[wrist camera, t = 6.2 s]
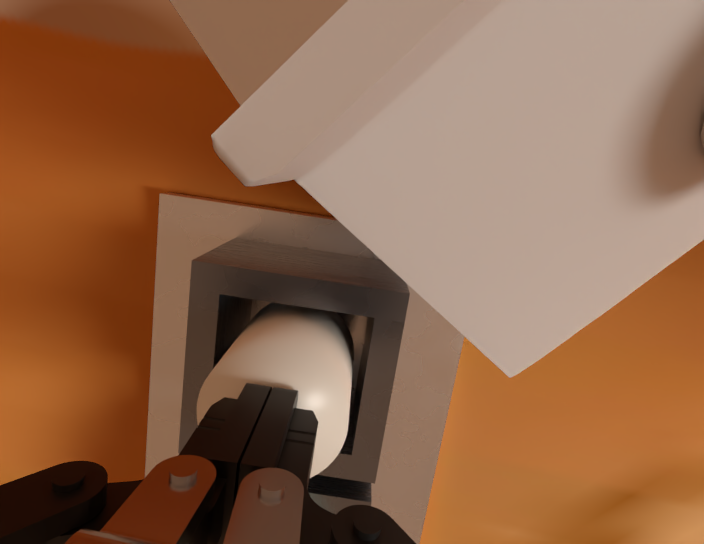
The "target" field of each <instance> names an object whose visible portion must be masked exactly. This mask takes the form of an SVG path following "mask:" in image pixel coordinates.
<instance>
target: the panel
mask: <svg viewBox="0 0 704 544" xmlns="http://www.w3.org/2000/svg"><path fill="white" fill-rule="evenodd" d="M272 302H274V303H281V304H287V305H294V306H300V307H307V308H313V309H320V310H326V311H333V312H336V313H337V314H338V315H339V316H340V317H341V318H342V319H343V320H344V322H345V323H346V325H347V326H348V328H349V330H350V333H351V336H352V339H353V344H354V361H353V373H352V386H351V398H350V411H349V423H348V432H347V436H346V439H345V442H344V444H343V447H342V449H341V451H340V452H339V454H338V455H337V457H336V458H335V459H334V461H333V462H332V463H331V464H330V465H329V466H328V467H327V468H325V469H324V470H323V471H321V472H320V473H319V474H317V475H315V476H313V477H311V478H310V479H309V484H308V493H309V495H310V497H311V498H312V499H313V501H314V502H315V503H316V504H318V505H319V506H320V507H322V508H323V509H325V510H327V511H329V512H331V513H334V514H337V513H338V512H339V511H340V510H342V509H344V508H345V507H348V506H351V505H368V506H372V507H375V508H378V509H380V510H382V511H384V512H385V513H387V514H388V515H389V516H390V517H391V518H392V519H393V520H394V521H395V522H396V523H397V524H398V525H399V526H400V527H401V528H402V529H403V530H404V531H405V532H406V533H407V534H408V536H409V537H410V538H411V539H412V540H413V541H414V542H415V543H416V544H419V543H420V538H421V534H422V529H423V524H424V520H425V515H426V511H427V506H428V501H429V497H430V492H431V488H432V483H433V478H434V474H435V469H436V464H437V460H438V455H439V451H440V446H441V441H442V437H443V432H444V428H445V423H446V418H447V414H448V409H449V405H450V400H451V395H452V391H453V386H454V381H455V377H456V372H457V368H458V363H459V358H460V354H461V349H462V345H463V340H464V335H462V334H461V333H460V332H459V331H458V330H457V329H456V328H455V327H454V326H453V325H452V324H450V323H449V322H448V321H447V320H446V319H445V318H444V317H443V316H442V315H441V314H440V313H439V312H437V311H436V310H435V309H434V308H433V307H432V306H431V305H430V304H429V303H428V302H427V301H425V300H424V299H423V298H422V297H421V296H420V295H419V294H418V293H417V292H416V291H415V290H413V289H412V288H411V287H410V286H409V285H408V284H407V283H406V282H405V281H404V280H403V279H401V278H400V277H399V276H398V275H397V274H396V273H395V272H394V271H393V270H392V269H391V268H389V267H388V266H387V265H386V264H385V263H384V262H383V261H382V260H381V259H380V258H379V257H378V256H376V255H375V254H374V253H373V252H372V251H371V250H370V249H369V248H368V247H367V246H366V245H364V244H363V243H362V242H361V241H360V240H359V239H358V238H357V237H356V236H355V235H354V234H352V233H351V232H350V231H349V230H348V229H347V228H346V227H345V226H344V225H343V224H342V223H340V222H339V221H338V220H337V219H336V218H335V217H329V216H322V215H316V214H309V213H303V212H296V211H290V210H283V209H277V208H270V207H264V206H257V205H250V204H244V203H237V202H231V201H224V200H218V199H211V198H205V197H198V196H192V195H185V194H179V193H172V192H167V193H160V195H159V215H158V234H157V253H156V272H155V291H154V310H153V329H152V349H151V368H150V387H149V406H148V425H147V444H146V463H145V477H146V476H147V475H148V474H149V472H150V471H151V470H152V469H153V468H154V467H155V466H156V465H157V464H159V463H160V462H162V461H163V460H165V459H168V458H171V457H174V456H178V455H179V454H180V452H181V451H182V449H183V447H184V446H185V444H186V443H187V441H188V440H189V438H190V437H191V435H192V434H193V432H194V431H195V429H196V428H198V423H197V401H198V396H199V393H200V390H201V387H202V385H203V383H204V381H205V380H206V378H207V377H208V375H209V374H210V372H211V371H212V370H213V369H214V367H215V366H216V365H217V363H218V362H219V361H220V360H221V358H222V357H223V356H224V354H225V353H226V352H227V351H228V349H229V348H230V347H231V345H232V344H233V343H234V342H235V340H236V339H237V338H238V336H239V335H240V334H241V333H242V331H243V330H244V329H245V327H246V326H247V325H248V324H249V322H250V321H251V320H252V318H253V317H254V316H255V315H256V314H257V313H258V312H259V311H260V310H261V309H262V308H263V307H265V306H267V305H268V304H270V303H272Z"/></svg>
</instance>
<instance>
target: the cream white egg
mask: <svg viewBox="0 0 704 544" xmlns="http://www.w3.org/2000/svg"><path fill="white" fill-rule="evenodd" d="M353 361H354V344H353V339H352V336H351V333H350V330H349V328H348V326H347V325H346V323H345V322H344V320H343V319H342V318H341V317H340V316H339V315H338V314H337V313H336V312H333V311H326V310H320V309H313V308H307V307H300V306H294V305H287V304H281V303H274V302H272V303H270V304H268V305H267V306H265V307H263V308H262V309H261V310H260V311H259V312H258V313H257V314H256V315H255V316H254V317H253V318H252V320H251V321H250V322H249V324H248V325H247V326H246V327H245V329H244V330H243V331H242V333H241V334H240V335H239V336H238V338H237V339H236V340H235V342H234V343H233V344H232V345H231V347H230V348H229V349H228V351H227V352H226V353H225V354H224V356H223V357H222V358H221V360H220V361H219V362H218V363H217V365H216V366H215V367H214V369H213V370H212V371H211V372H210V374H209V375H208V377H207V378H206V380H205V381H204V383H203V385H202V387H201V390H200V393H199V396H198V401H197V423H198V425H199V423H200V422H201V420H202V419H203V418H204V416H205V414H206V412H207V411H208V409H209V408H210V406H211V405H213V404H214V403H216V402H218V401H219V400H221V399H222V398H224V397H226V398H233V399H238V397H239V395H240V393H241V391H242V390H243V388H244V386H245V384H246V383H251V384H258V385H264V386H271V387H272V389H273V387H278V388H284V389H291V390H297V391H298V401H297V408H299V409H305V410H312V411H313V412H314V414H315V416H316V418H317V420H318V428H317V435H316V441H315V448H314V455H313V461H312V468H311V474H310V478H311V477H313V476H315V475H317V474H319V473H320V472H321V471H323V470H324V469H325V468H327V467H328V466H329V465H330V464H331V463H332V462H333V461H334V459H335V458H336V457H337V455H338V454H339V452H340V451H341V449H342V447H343V444H344V442H345V439H346V436H347V432H348V423H349V411H350V398H351V386H352V373H353Z"/></svg>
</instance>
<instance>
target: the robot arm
mask: <svg viewBox="0 0 704 544" xmlns="http://www.w3.org/2000/svg"><path fill="white" fill-rule="evenodd" d="M297 401H298V391H297V390H291V389H284V388H278V387H273V389H272V387H271V386H264V385H258V384H251V383H246V384H245V386H244V388H243V390H242V391H241V393H240V395H239V397H238V399H233V398H226V397H224V398H222V399H221V400H219V401H218V402H216V403H214V404H213V405H211V406H210V408H209V409H208V411H207V412H206V414H205V416H204V418H203V419H202V420H201V422H200V423H199V425H198V428H196V429H195V431H194V432H193V434H192V435H191V437H190V438H189V440H188V441H187V443H186V444H185V446H184V447H183V449H182V451H181V452H180V454H179V455H178V456H174V457H171V458H168V459H165V460H163V461H162V462H160V463H159V464H157V465H156V466H155V467H154V468H153V469H152V470H151V471H150V472H149V474H148V475H147V476H146V477H145V478H144V479H143V480H139V481H130V482H117V483H107V477H108V475H107V472H106V470H105V469H104V468H103V467H102V466H100V465H99V464H96V463H93V462H88V461H73V462H67V463H62V464H59V465H56V466H53V467H50V468H48V469H45V470H42V471H39V472H36V473H34V474H31V475H28V476H25V477H22V478H20V479H17V480H14V481H11V482H9V483H6V484H3V485H0V544H416V543H415V542H414V541H413V540H412V539H411V538H410V537H409V536H408V534H407V533H406V532H405V531H404V530H403V529H402V528H401V527H400V526H399V525H398V524H397V523H396V522H395V521H394V520H393V519H392V518H391V517H390V516H389V515H388V514H387V513H385V512H384V511H382V510H380V509H378V508H375V507H372V506H368V505H351V506H348V507H345V508H344V509H342V510H340V511H339V512H338V513H337V514H334V513H331V512H329V511H327V510H325V509H323V508H322V507H320V506H319V505H318V504H316V503H315V502H314V501H313V499H312V498H311V497H310V495H309V493H308V484H309V479H310V474H311V468H312V461H313V455H314V448H315V441H316V435H317V428H318V420H317V418H316V416H315V414H314V412H313V411H312V410H305V409H299V408H297Z"/></svg>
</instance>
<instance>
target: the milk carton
mask: <svg viewBox="0 0 704 544" xmlns="http://www.w3.org/2000/svg"><path fill="white" fill-rule="evenodd" d="M170 2H171V3H172V5H173V6H174V8H175V9H176V11H177V12H178V14H179V15H180V17H181V18H182V20H183V21H184V23H185V24H186V26H187V27H188V29H189V30H190V32H191V33H192V35H193V36H194V38H195V39H196V41H197V42H198V44H199V45H200V47H201V48H202V49H203V51H204V52H205V54H206V55H207V57H208V58H209V60H210V61H211V63H212V64H213V66H214V67H215V69H216V70H217V72H218V73H219V75H220V76H221V78H222V79H223V81H224V82H225V84H226V85H227V87H228V88H229V90H230V91H231V93H232V94H233V96H234V97H235V98H236V100H237V101H238V103H239V104H240V107H239V108H238V109H237V110H236V111H235V112H234V113H233V114H232V115H231V116H230V117H229V118H228V119H227V120H226V121H225V122H224V123H223V124H222V125H221V126H220V127H219V128H218V129H217V130H216V131H215V132H214V133H213V134H212V135H211V137H212V141H213V148H214V150H215V152H216V154H217V155H218V157H219V158H220V159H221V160H222V161H223V163H224V164H225V165H226V166H227V167H228V168H229V169H230V170H231V171H232V173H233V174H234V175H235V176H236V177H237V178H238V179H239V180H240V181H241V183H242V184H243V185H244V186H258V185H265V184H271V183H278V182H284V181H290V180H295V181H296V182H297V183H298V184H299V185H300V186H301V187H302V188H304V189H305V190H306V191H307V192H308V193H309V194H310V195H311V196H312V197H313V198H314V199H315V200H317V201H318V202H319V203H320V204H321V205H322V206H323V207H324V208H325V209H326V210H327V211H328V212H330V213H331V214H332V215H333V216H334V217H335V218H336V219H337V220H338V221H339V222H340V223H342V224H343V225H344V226H345V227H346V228H347V229H348V230H349V231H350V232H351V233H352V234H354V235H355V236H356V237H357V238H358V239H359V240H360V241H361V242H362V243H363V244H364V245H366V246H367V247H368V248H369V249H370V250H371V251H372V252H373V253H374V254H375V255H376V256H378V257H379V258H380V259H381V260H382V261H383V262H384V263H385V264H386V265H387V266H388V267H389V268H391V269H392V270H393V271H394V272H395V273H396V274H397V275H398V276H399V277H400V278H401V279H403V280H404V281H405V282H406V283H407V284H408V285H409V286H410V287H411V288H412V289H413V290H415V291H416V292H417V293H418V294H419V295H420V296H421V297H422V298H423V299H424V300H425V301H427V302H428V303H429V304H430V305H431V306H432V307H433V308H434V309H435V310H436V311H437V312H439V313H440V314H441V315H442V316H443V317H444V318H445V319H446V320H447V321H448V322H449V323H450V324H452V325H453V326H454V327H455V328H456V329H457V330H458V331H459V332H460V333H461V334H462V335H464V336H465V337H466V338H467V339H468V340H469V341H470V342H471V343H472V344H473V345H474V346H476V347H477V348H478V349H479V350H480V351H481V352H482V353H483V354H484V355H485V356H486V357H488V358H489V359H490V360H491V361H492V362H493V363H494V364H495V365H496V366H497V367H498V368H500V369H501V370H502V371H503V372H504V373H505V374H506V375H507V376H508V377H510V378H511V377H513V376H515V375H517V374H518V373H520V372H522V371H523V370H525V369H526V368H528V367H529V366H531V365H532V364H534V363H535V362H537V361H538V360H540V359H541V358H542V357H544V356H545V355H546V354H548V353H549V352H551V351H552V350H553V349H555V348H556V347H558V346H559V345H560V344H562V343H563V342H565V341H566V340H567V339H569V338H570V337H571V336H573V335H574V334H575V333H577V332H578V331H579V330H581V329H582V328H584V327H585V326H587V325H588V324H589V323H591V322H592V321H594V320H595V319H596V318H598V317H599V316H601V315H602V314H604V313H605V312H606V311H608V310H609V309H611V308H612V307H613V306H615V305H616V304H617V303H619V302H620V301H621V300H623V299H624V298H625V297H627V296H628V295H629V294H631V293H632V292H633V291H635V290H636V289H637V288H639V287H640V286H641V285H643V284H644V283H645V282H647V281H648V280H649V279H651V278H652V277H654V276H655V275H656V274H658V273H659V272H660V271H662V270H663V269H664V268H666V267H667V266H669V265H670V264H671V263H673V262H674V261H675V260H677V259H678V258H679V257H681V256H682V255H683V254H685V253H686V252H688V251H689V250H690V249H692V248H693V247H694V246H696V245H697V244H698V243H700V242H701V241H703V240H704V0H170Z"/></svg>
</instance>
